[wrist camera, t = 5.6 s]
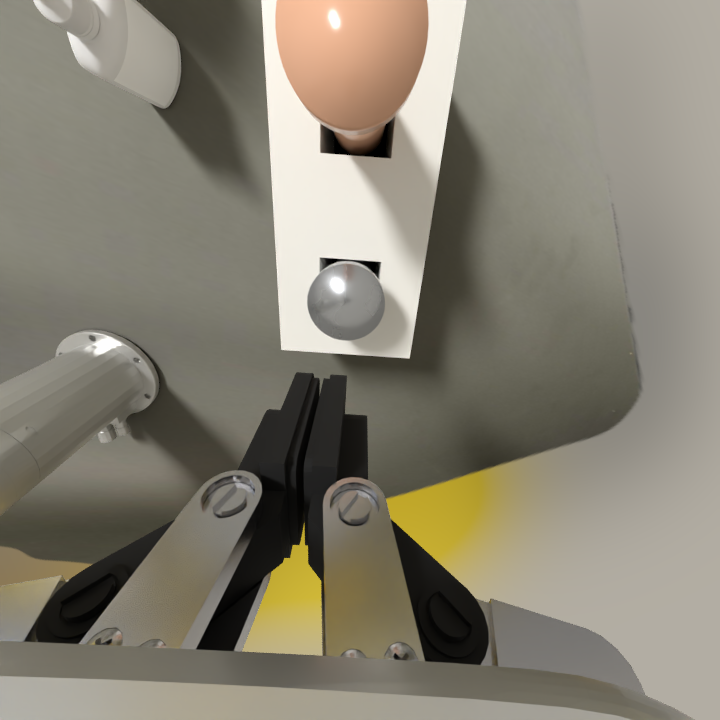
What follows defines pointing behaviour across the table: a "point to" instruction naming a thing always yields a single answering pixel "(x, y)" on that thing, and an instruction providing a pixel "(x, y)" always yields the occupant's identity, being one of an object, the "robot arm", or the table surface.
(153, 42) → the eye dropper bottle
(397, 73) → the terracotta plug
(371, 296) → the grey plug
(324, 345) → the block
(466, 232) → the table surface
